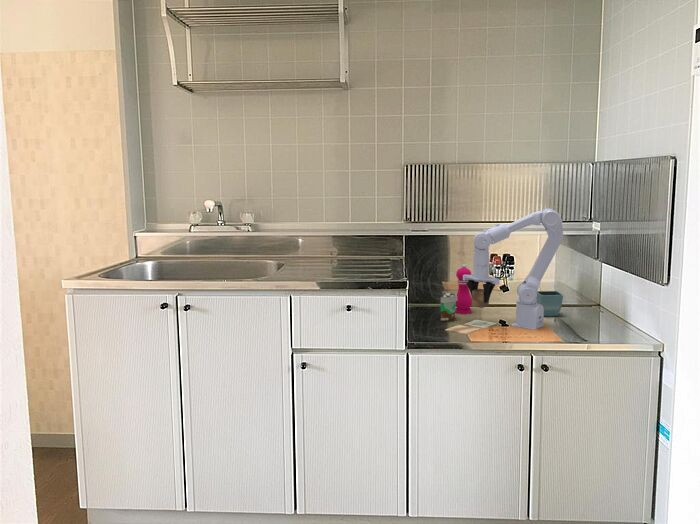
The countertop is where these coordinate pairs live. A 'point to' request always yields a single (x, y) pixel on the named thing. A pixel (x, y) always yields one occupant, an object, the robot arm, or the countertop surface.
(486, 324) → the tile
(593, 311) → the countertop surface
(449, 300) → the food container
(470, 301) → the pepper mill
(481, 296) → the block
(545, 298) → the flower pot
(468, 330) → the coaster
